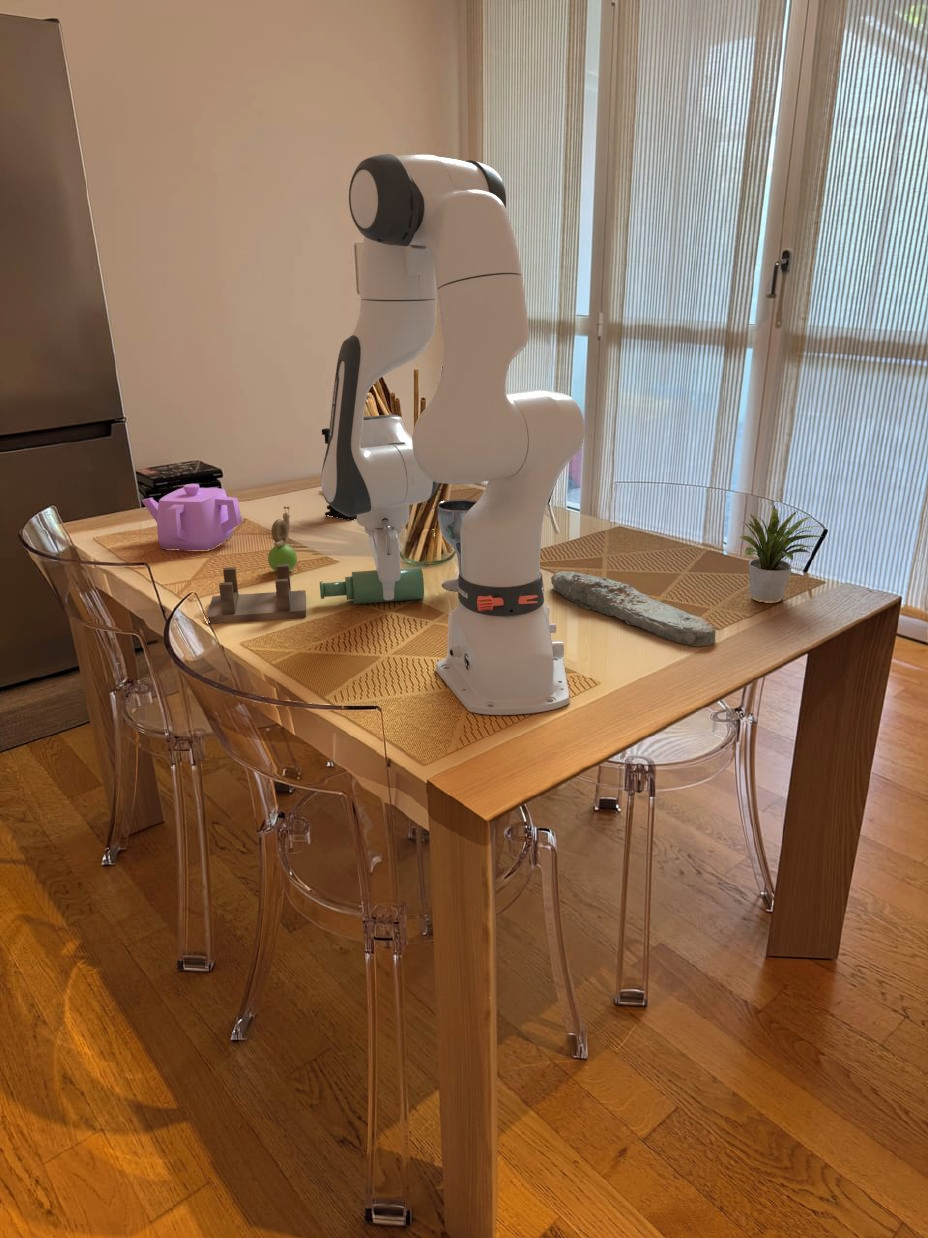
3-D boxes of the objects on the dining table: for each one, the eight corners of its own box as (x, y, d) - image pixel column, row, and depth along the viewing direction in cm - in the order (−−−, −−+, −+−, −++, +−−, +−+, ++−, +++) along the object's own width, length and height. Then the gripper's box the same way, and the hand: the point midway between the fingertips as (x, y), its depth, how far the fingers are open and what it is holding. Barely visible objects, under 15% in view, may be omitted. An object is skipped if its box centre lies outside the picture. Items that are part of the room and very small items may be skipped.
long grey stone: (686, 664, 136) (728, 651, 142) (692, 632, 134) (734, 619, 140) (534, 589, 161) (575, 580, 167) (537, 561, 159) (578, 553, 165)
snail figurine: (305, 567, 176) (300, 506, 171) (290, 577, 170) (285, 515, 165) (279, 564, 177) (274, 505, 172) (264, 575, 171) (258, 513, 167)
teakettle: (173, 559, 181) (165, 499, 177) (145, 540, 194) (136, 483, 189) (252, 543, 191) (246, 486, 186) (220, 526, 203) (214, 472, 199)
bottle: (422, 605, 159) (418, 578, 162) (424, 587, 154) (420, 560, 157) (321, 612, 156) (319, 585, 159) (320, 595, 152) (318, 567, 154)
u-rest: (306, 596, 160) (303, 562, 158) (306, 617, 151) (303, 581, 149) (213, 602, 158) (209, 567, 155) (207, 623, 149) (202, 587, 146)
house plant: (769, 622, 147) (781, 524, 141) (704, 597, 158) (713, 506, 152) (824, 604, 154) (838, 510, 148) (759, 581, 165) (769, 494, 159)
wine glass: (478, 593, 161) (478, 511, 155) (435, 590, 162) (433, 509, 157) (486, 578, 168) (486, 499, 162) (444, 576, 169) (443, 498, 164)
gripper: (408, 527, 143) (410, 609, 148) (396, 496, 161) (398, 569, 166) (368, 529, 142) (372, 612, 147) (360, 497, 160) (364, 571, 166)
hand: (386, 589), depth 157 cm, fingers open, 8 cm apart
